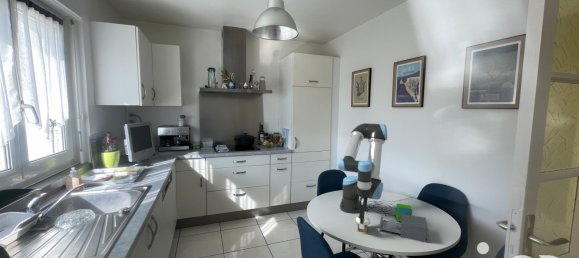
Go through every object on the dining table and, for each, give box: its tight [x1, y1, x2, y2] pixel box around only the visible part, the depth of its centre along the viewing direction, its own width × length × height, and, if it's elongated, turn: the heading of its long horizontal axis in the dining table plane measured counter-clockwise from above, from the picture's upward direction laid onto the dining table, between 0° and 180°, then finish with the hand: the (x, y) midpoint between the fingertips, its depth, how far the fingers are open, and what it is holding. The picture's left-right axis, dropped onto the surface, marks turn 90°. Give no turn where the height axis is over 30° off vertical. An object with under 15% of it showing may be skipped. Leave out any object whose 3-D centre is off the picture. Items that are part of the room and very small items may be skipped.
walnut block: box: [357, 223, 369, 234], centre depth 139 cm, size 5×5×5 cm
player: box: [400, 213, 429, 244], centre depth 135 cm, size 13×14×8 cm
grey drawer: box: [379, 215, 401, 235], centre depth 140 cm, size 13×12×5 cm
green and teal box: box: [394, 203, 413, 222], centre depth 154 cm, size 10×13×10 cm
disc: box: [355, 216, 371, 226], centre depth 138 cm, size 8×8×2 cm
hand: (362, 225), depth 139 cm, fingers closed on disc, 8 cm apart
